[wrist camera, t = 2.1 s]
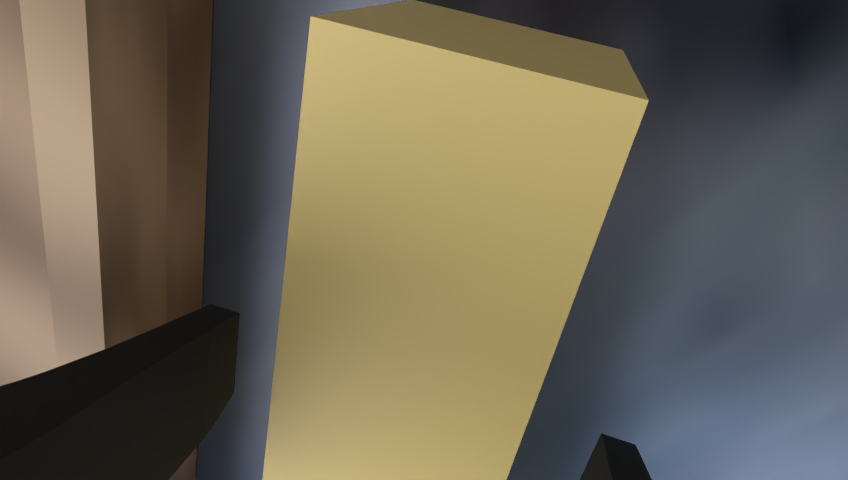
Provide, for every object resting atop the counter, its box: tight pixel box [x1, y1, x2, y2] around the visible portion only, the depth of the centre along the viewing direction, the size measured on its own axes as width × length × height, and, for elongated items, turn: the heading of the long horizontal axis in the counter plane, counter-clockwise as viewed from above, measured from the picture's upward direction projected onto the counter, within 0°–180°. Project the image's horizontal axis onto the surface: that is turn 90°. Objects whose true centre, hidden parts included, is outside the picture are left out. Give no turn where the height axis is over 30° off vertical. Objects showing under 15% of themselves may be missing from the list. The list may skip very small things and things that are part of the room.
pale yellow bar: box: [262, 0, 649, 480], centre depth 12 cm, size 14×4×5 cm, turn 168°
